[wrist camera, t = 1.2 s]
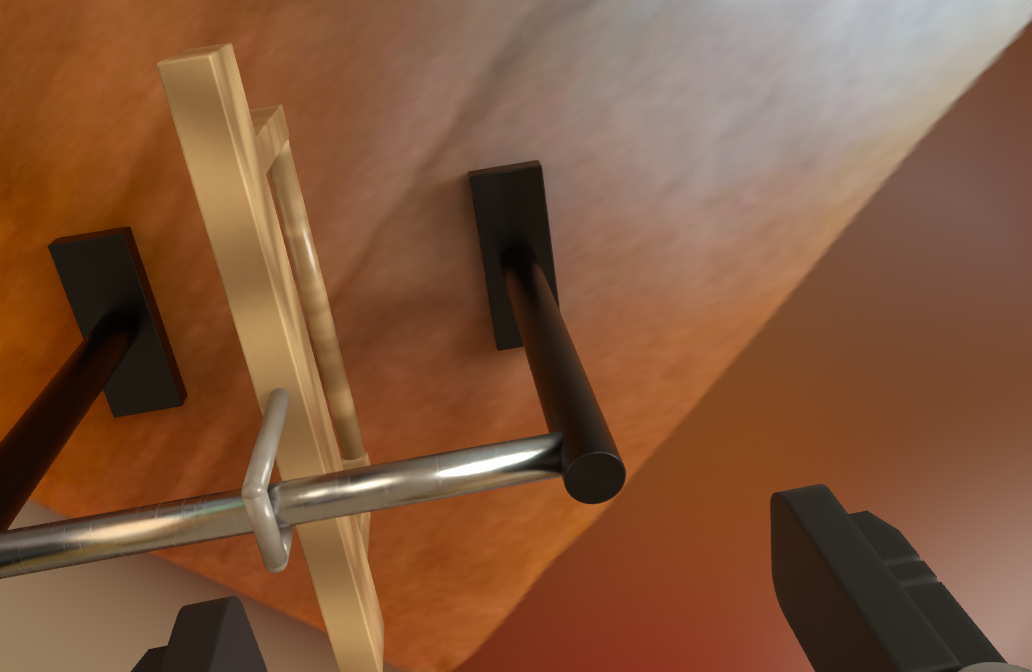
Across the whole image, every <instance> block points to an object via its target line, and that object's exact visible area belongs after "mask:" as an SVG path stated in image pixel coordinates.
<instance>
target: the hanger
mask: <svg viewBox="0 0 1032 672" xmlns="http://www.w3.org/2000/svg"><path fill="white" fill-rule="evenodd" d="M157 68H158V71H159V75H160V78H161V81H162V85H163V88H164V91H165V95H166V98H167V101H168V105H169V108H170V111H171V115H172V118H173V121H174V125H175V128H176V131H177V135H178V138H179V141H180V144H181V148H182V151H183V154H184V158H185V161H186V164H187V168H188V171H189V174H190V178H191V181H192V184H193V188H194V191H195V194H196V198H197V201H198V204H199V207H200V211H201V214H202V217H203V221H204V224H205V227H206V231H207V234H208V237H209V241H210V244H211V247H212V251H213V254H214V257H215V261H216V264H217V267H218V271H219V274H220V277H221V280H222V284H223V287H224V290H225V294H226V297H227V300H228V304H229V307H230V310H231V314H232V317H233V320H234V324H235V327H236V330H237V334H238V337H239V340H240V344H241V347H242V350H243V353H244V357H245V360H246V363H247V367H248V370H249V373H250V377H251V380H252V383H253V387H254V390H255V393H256V397H257V400H258V403H259V407H260V410H261V413H262V417H263V420H262V423H261V427H260V430H259V433H258V437H257V440H256V443H255V447H254V450H253V453H252V457H251V460H250V463H249V467H248V470H247V473H246V477H245V480H244V483H243V487H242V490H241V495H242V498H243V501H244V504H245V507H246V510H247V513H248V516H249V520H250V523H251V526H252V529H253V532H254V535H255V538H256V541H257V544H258V547H259V550H260V553H261V556H262V559H263V562H264V565H265V568H266V569H267V570H268V571H269V572H272V573H279V572H281V571H283V570H284V569H285V568H286V566H287V563H288V559H289V553H290V548H291V543H292V537H293V532H294V527H295V526H296V529H297V533H298V536H299V539H300V543H301V546H302V549H303V553H304V556H305V559H306V562H307V566H308V569H309V572H310V576H311V579H312V582H313V586H314V589H315V592H316V596H317V599H318V602H319V606H320V609H321V612H322V616H323V619H324V622H325V626H326V629H327V632H328V635H329V639H330V642H331V645H332V649H333V652H334V655H335V659H336V662H337V665H338V668H339V671H340V672H383V645H384V621H383V618H382V614H381V610H380V606H379V602H378V599H377V595H376V591H375V587H374V583H373V580H372V576H371V572H370V568H369V564H368V561H367V558H368V542H369V526H370V512H366V513H361V514H355V515H350V516H344V517H338V518H333V519H327V520H322V521H316V522H311V523H305V524H300V525H294V526H289V527H283V528H278V525H277V522H276V519H275V516H274V512H273V509H272V506H271V503H270V500H269V496H268V493H267V488H268V484H269V480H270V476H271V473H272V469H273V465H274V461H275V460H276V463H277V466H278V470H279V473H280V476H281V480H282V481H286V480H292V479H297V478H303V477H308V476H314V475H320V474H325V473H331V472H336V471H342V470H348V469H353V468H359V467H364V466H370V465H371V464H370V460H369V456H368V453H367V452H366V451H365V447H364V443H363V439H362V435H361V431H360V427H359V423H358V419H357V415H356V411H355V407H354V403H353V399H352V395H351V391H350V387H349V383H348V379H347V375H346V371H345V367H344V363H343V358H342V354H341V350H340V346H339V342H338V338H337V334H336V330H335V326H334V322H333V318H332V314H331V310H330V306H329V302H328V298H327V294H326V290H325V286H324V282H323V278H322V274H321V270H320V265H319V261H318V257H317V253H316V249H315V245H314V241H313V237H312V233H311V229H310V225H309V221H308V217H307V213H306V209H305V205H304V201H303V197H302V193H301V189H300V185H299V181H298V177H297V172H296V168H295V164H294V160H293V156H292V152H291V148H290V144H289V140H288V138H289V136H290V135H289V131H288V127H287V122H286V118H285V114H284V110H283V106H282V104H278V105H271V106H265V107H259V108H252V109H250V110H249V108H248V104H247V100H246V97H245V93H244V89H243V85H242V81H241V78H240V74H239V70H238V66H237V62H236V59H235V55H234V51H233V47H232V45H231V43H224V44H218V45H211V46H205V47H198V48H192V49H185V50H183V51H181V52H179V53H177V54H175V55H173V56H170V57H168V58H166V59H164V60H162V61H160V62H158V63H157ZM267 172H269V176H270V179H271V183H272V187H273V191H274V195H275V199H276V202H277V206H278V210H279V214H280V218H281V222H282V225H283V229H284V233H285V237H286V241H287V245H288V248H289V252H290V256H291V260H292V264H293V268H294V271H295V275H296V279H297V283H298V287H299V290H300V294H301V298H302V302H303V306H304V310H305V313H306V317H307V321H308V325H309V329H310V333H311V336H312V340H313V344H314V348H315V352H316V356H317V359H318V363H319V367H320V371H321V375H322V378H323V382H324V386H325V390H326V394H327V398H328V401H329V405H330V409H331V413H332V417H333V421H334V424H335V428H336V432H337V436H338V440H339V444H340V447H341V451H342V455H343V457H341V458H340V454H339V450H338V447H337V443H336V439H335V435H334V431H333V427H332V424H331V420H330V416H329V412H328V408H327V405H326V401H325V397H324V393H323V389H322V386H321V382H320V378H319V374H318V370H317V367H316V363H315V359H314V355H313V351H312V348H311V344H310V340H309V336H308V332H307V329H306V325H305V321H304V317H303V313H302V310H301V306H300V302H299V298H298V294H297V291H296V287H295V283H294V279H293V275H292V272H291V268H290V264H289V260H288V256H287V253H286V249H285V245H284V241H283V237H282V234H281V230H280V226H279V222H278V218H277V215H276V211H275V207H274V203H273V199H272V195H271V192H270V188H269V184H268V180H267V176H266V174H267Z"/></svg>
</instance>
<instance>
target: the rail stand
mask: <svg viewBox="0 0 1032 672" xmlns="http://www.w3.org/2000/svg"><path fill="white" fill-rule="evenodd" d="M468 175H469V181H470V187H471V194H472V200H473V206H474V212H475V218H476V225H477V231H478V237H479V243H480V249H481V256H482V262H483V268H484V274H485V281H486V287H487V293H488V299H489V305H490V312H491V318H492V324H493V330H494V336H495V342H496V347H497V350H498V351H500V350H505V349H511V348H517V347H523V346H524V348H525V352H526V355H527V359H528V362H529V365H530V369H531V372H532V376H533V379H534V382H535V386H536V389H537V393H538V396H539V399H540V403H541V406H542V410H543V413H544V417H545V420H546V423H547V427H548V430H549V434H544V435H538V436H532V437H527V438H521V439H516V440H510V441H504V442H499V443H493V444H488V445H482V446H476V447H471V448H465V449H460V450H454V451H448V452H443V453H437V454H432V455H426V456H420V457H415V458H409V459H404V460H398V461H392V462H387V463H381V464H376V465H370V466H364V467H359V468H353V469H348V470H342V471H336V472H331V473H325V474H320V475H314V476H308V477H303V478H297V479H292V480H286V481H280V482H275V483H269V484H268V488H267V493H268V496H269V500H270V503H271V506H272V509H273V512H274V516H275V519H276V522H277V525H278V528H283V527H289V526H294V525H300V524H305V523H311V522H316V521H322V520H327V519H333V518H338V517H344V516H350V515H355V514H361V513H366V512H372V511H377V510H383V509H388V508H394V507H399V506H405V505H410V504H416V503H421V502H427V501H432V500H438V499H443V498H449V497H454V496H460V495H465V494H471V493H476V492H482V491H487V490H493V489H498V488H504V487H510V486H515V485H521V484H526V483H532V482H537V481H543V480H548V479H554V478H559V477H562V478H563V481H564V485H565V488H566V490H567V492H568V493H569V494H570V496H572V497H573V498H574V499H576V500H577V501H579V502H582V503H586V504H598V503H602V502H605V501H607V500H610V499H611V498H613V497H614V496H615V495H616V494H617V493H618V492H619V491H620V490H621V488H622V487H623V485H624V482H625V478H626V470H625V467H624V464H623V462H622V459H621V457H620V455H619V452H618V450H617V447H616V445H615V443H614V440H613V438H612V435H611V433H610V431H609V428H608V426H607V423H606V421H605V419H604V416H603V414H602V412H601V409H600V407H599V404H598V402H597V400H596V397H595V395H594V392H593V390H592V388H591V385H590V383H589V381H588V378H587V376H586V373H585V371H584V369H583V366H582V364H581V361H580V359H579V357H578V354H577V352H576V349H575V347H574V345H573V342H572V340H571V338H570V335H569V333H568V330H567V328H566V326H565V323H564V321H563V318H562V316H561V314H560V309H559V301H558V293H557V285H556V277H555V269H554V261H553V253H552V245H551V236H550V228H549V220H548V212H547V204H546V196H545V188H544V180H543V172H542V166H541V164H540V163H539V161H538V160H536V161H530V162H524V163H517V164H511V165H505V166H499V167H493V168H487V169H481V170H474V171H469V172H468ZM48 248H49V251H50V253H51V256H52V258H53V261H54V263H55V266H56V269H57V271H58V274H59V276H60V279H61V282H62V284H63V287H64V289H65V292H66V294H67V297H68V300H69V302H70V305H71V307H72V310H73V313H74V315H75V318H76V320H77V323H78V326H79V328H80V331H81V333H82V336H83V338H84V340H83V341H82V343H81V344H80V345H79V346H78V348H77V349H76V350H75V351H74V352H73V354H72V355H71V356H70V357H69V359H68V360H67V361H66V362H65V364H64V365H63V366H62V367H61V368H60V370H59V371H58V372H57V373H56V375H55V376H54V377H53V378H52V380H51V381H50V382H49V383H48V385H47V386H46V387H45V388H44V389H43V391H42V392H41V393H40V394H39V396H38V397H37V398H36V399H35V401H34V402H33V403H32V404H31V405H30V407H29V408H28V409H27V410H26V412H25V413H24V414H23V415H22V417H21V418H20V419H19V420H18V422H17V423H16V424H15V425H14V426H13V428H12V429H11V430H10V431H9V433H8V434H7V435H6V436H5V438H4V439H3V440H2V441H1V442H0V579H2V578H7V577H13V576H18V575H24V574H29V573H35V572H41V571H46V570H51V569H57V568H62V567H68V566H74V565H79V564H84V563H90V562H95V561H101V560H106V559H112V558H117V557H123V556H129V555H134V554H140V553H145V552H151V551H156V550H162V549H167V548H173V547H178V546H184V545H190V544H195V543H201V542H206V541H212V540H217V539H223V538H228V537H234V536H239V535H245V534H250V533H254V532H253V529H252V526H251V523H250V520H249V516H248V513H247V510H246V507H245V504H244V501H243V498H242V495H241V490H242V488H241V489H236V490H230V491H224V492H219V493H213V494H208V495H202V496H196V497H191V498H185V499H180V500H174V501H168V502H163V503H157V504H152V505H146V506H140V507H135V508H129V509H124V510H118V511H112V512H107V513H101V514H96V515H90V516H84V517H79V518H73V519H68V520H62V521H56V522H51V523H45V524H40V525H34V526H29V527H23V528H17V529H12V530H7V529H8V528H9V526H10V525H11V523H12V522H13V520H14V519H15V517H16V516H17V514H18V513H19V511H20V510H21V509H22V507H23V506H24V504H25V503H26V501H27V500H28V498H29V497H30V495H31V494H32V492H33V491H34V489H35V488H36V487H37V485H38V484H39V482H40V481H41V479H42V478H43V476H44V475H45V473H46V472H47V470H48V469H49V467H50V466H51V464H52V463H53V461H54V460H55V459H56V457H57V456H58V454H59V453H60V451H61V450H62V448H63V447H64V445H65V444H66V442H67V441H68V439H69V438H70V436H71V435H72V433H73V432H74V431H75V429H76V428H77V426H78V425H79V423H80V422H81V420H82V419H83V417H84V416H85V414H86V413H87V411H88V410H89V408H90V407H91V405H92V404H93V403H94V401H95V400H96V398H97V397H98V395H99V394H100V392H101V391H102V389H103V390H104V393H105V395H106V398H107V401H108V403H109V406H110V408H111V411H112V413H113V416H114V417H120V416H126V415H132V414H138V413H143V412H149V411H155V410H161V409H166V408H172V407H178V406H182V405H183V403H184V401H185V399H186V397H187V393H186V390H185V387H184V384H183V381H182V378H181V375H180V372H179V369H178V366H177V364H176V361H175V358H174V355H173V352H172V349H171V346H170V343H169V340H168V337H167V334H166V331H165V328H164V325H163V322H162V319H161V316H160V314H159V311H158V308H157V305H156V302H155V299H154V296H153V293H152V290H151V287H150V284H149V281H148V278H147V275H146V272H145V269H144V267H143V264H142V261H141V258H140V255H139V252H138V249H137V246H136V243H135V240H134V237H133V234H132V231H131V228H130V227H123V228H117V229H111V230H105V231H99V232H93V233H87V234H80V235H74V236H68V237H62V238H57V239H56V240H54V241H53V242H52V243H51V244H50V245H48Z"/></svg>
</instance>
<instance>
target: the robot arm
mask: <svg viewBox="0 0 1032 672" xmlns="http://www.w3.org/2000/svg"><path fill="white" fill-rule="evenodd" d="M770 510H771V560H772V578H773V583H774V588H775V592H776V596H777V599H778V602H779V604H780V607H781V609H782V612H783V614H784V615H785V617H786V619H787V621H788V623H789V625H790V627H791V628H792V630H793V632H794V634H795V636H796V638H797V639H798V641H799V643H800V645H801V647H802V648H803V650H804V652H805V654H806V656H807V657H808V659H809V661H810V663H811V665H812V667H813V668H814V670H815V672H1032V671H1031V670H1029V669H1026V668H1023V667H1020V666H1016V665H1012V664H1008V663H1007V662H1006V661H1005V660H1004V658H1003V657H1002V656H1001V655H1000V654H999V652H998V651H997V650H996V649H995V648H994V646H993V645H992V644H991V643H990V641H989V640H988V639H987V638H986V637H985V635H984V634H983V633H982V631H981V630H980V629H979V628H978V627H977V625H976V624H975V623H974V622H973V621H972V619H971V618H970V617H969V616H968V614H967V613H966V612H965V611H964V610H963V608H962V607H961V606H960V605H959V603H958V602H957V601H956V600H955V599H954V597H953V596H952V595H951V594H950V592H949V591H948V590H947V589H946V588H945V586H944V585H943V584H942V583H941V582H938V581H937V576H936V575H935V574H934V573H933V572H932V570H931V569H930V568H929V567H928V566H927V564H926V563H925V562H924V561H921V560H920V557H919V554H918V553H917V552H916V551H915V549H914V548H913V547H912V546H911V545H910V543H909V542H908V541H907V540H906V538H905V537H904V536H903V535H902V534H901V532H900V531H899V530H898V529H896V528H894V527H893V526H891V525H890V524H888V523H886V522H885V521H883V520H881V519H880V518H878V517H877V516H874V515H873V514H872V513H870V512H868V511H863V512H858V513H853V514H848V513H847V512H846V511H845V509H844V508H843V507H842V505H841V504H840V503H839V501H838V500H837V499H836V497H835V496H834V495H833V494H832V492H831V491H830V490H829V488H828V487H827V486H825V485H824V484H818V485H812V486H807V487H802V488H797V489H792V490H787V491H781V492H776V493H774V494H773V495H772V497H771V505H770ZM131 672H268V671H267V668H266V666H265V663H264V660H263V658H262V655H261V652H260V650H259V647H258V644H257V642H256V639H255V637H254V634H253V631H252V629H251V626H250V623H249V621H248V618H247V615H246V613H245V610H244V608H243V605H242V603H241V601H240V600H239V598H238V597H236V596H231V597H226V598H220V599H215V600H210V601H205V602H200V603H195V604H190V605H185V606H183V607H182V608H181V609H180V611H179V613H178V615H177V619H176V621H175V624H174V628H173V631H172V634H171V637H170V640H169V643H168V646H163V647H158V648H153V649H149V650H148V651H147V652H146V653H145V655H144V656H143V657H142V658H141V660H140V661H139V662H138V663H137V665H136V666H135V667H134V668H133V670H132V671H131Z"/></svg>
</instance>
